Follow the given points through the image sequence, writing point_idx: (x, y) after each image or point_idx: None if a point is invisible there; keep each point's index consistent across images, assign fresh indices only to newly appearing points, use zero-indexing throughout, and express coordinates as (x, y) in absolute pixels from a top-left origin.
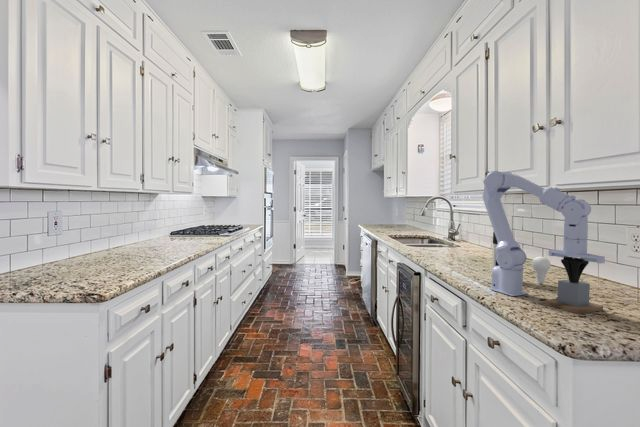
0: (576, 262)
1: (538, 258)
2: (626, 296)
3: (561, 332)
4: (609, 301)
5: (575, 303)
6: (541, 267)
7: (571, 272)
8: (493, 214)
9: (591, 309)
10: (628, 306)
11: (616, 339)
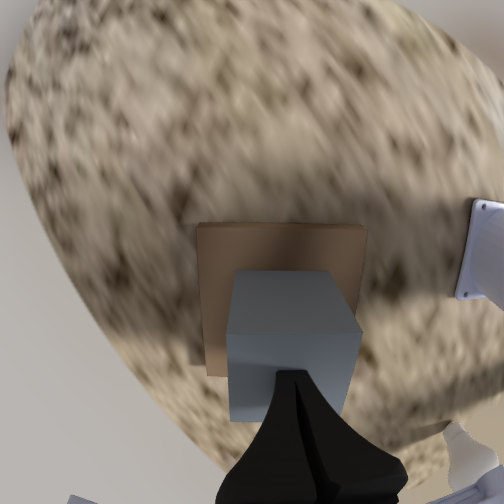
0: (236, 490)
1: None
2: None
3: None
4: None
5: (243, 276)
6: (470, 459)
7: (305, 423)
8: None
9: (201, 306)
10: (209, 445)
11: (25, 90)
